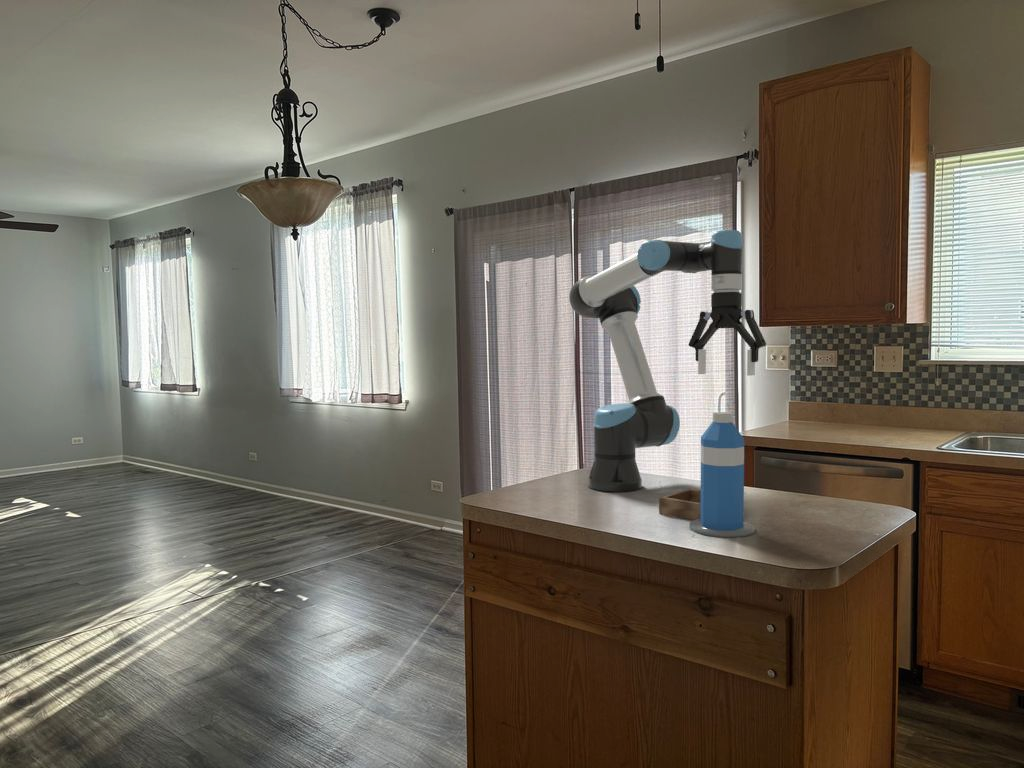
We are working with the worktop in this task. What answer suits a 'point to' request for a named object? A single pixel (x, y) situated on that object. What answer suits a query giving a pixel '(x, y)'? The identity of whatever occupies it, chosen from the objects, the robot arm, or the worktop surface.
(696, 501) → the square wooden frame
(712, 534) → the coaster
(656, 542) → the worktop surface
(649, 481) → the worktop surface
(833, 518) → the worktop surface
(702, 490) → the water bottle
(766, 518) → the worktop surface
